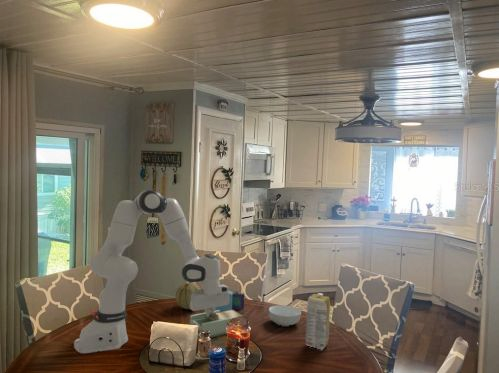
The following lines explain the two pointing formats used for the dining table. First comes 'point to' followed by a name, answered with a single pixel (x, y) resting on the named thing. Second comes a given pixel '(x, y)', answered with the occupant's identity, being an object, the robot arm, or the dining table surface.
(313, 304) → the juice carton
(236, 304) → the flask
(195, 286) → the cantaloupe
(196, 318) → the box
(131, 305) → the dining table surface
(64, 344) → the dining table surface
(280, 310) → the cereal bowl
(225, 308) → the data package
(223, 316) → the cover plate
